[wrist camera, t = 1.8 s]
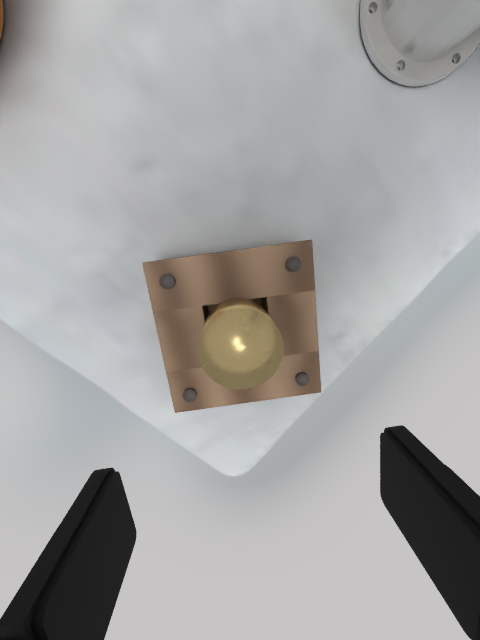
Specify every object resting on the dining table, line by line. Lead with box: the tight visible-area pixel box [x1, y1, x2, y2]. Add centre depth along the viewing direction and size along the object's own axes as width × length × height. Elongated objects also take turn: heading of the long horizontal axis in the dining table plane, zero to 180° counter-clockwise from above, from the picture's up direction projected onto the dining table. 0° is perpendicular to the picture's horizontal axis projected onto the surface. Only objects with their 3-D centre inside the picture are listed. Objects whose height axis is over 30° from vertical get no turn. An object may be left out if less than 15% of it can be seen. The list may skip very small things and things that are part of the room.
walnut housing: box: [142, 240, 321, 413], centre depth 29 cm, size 16×16×6 cm
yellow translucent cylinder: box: [198, 298, 284, 389], centre depth 26 cm, size 7×7×10 cm
